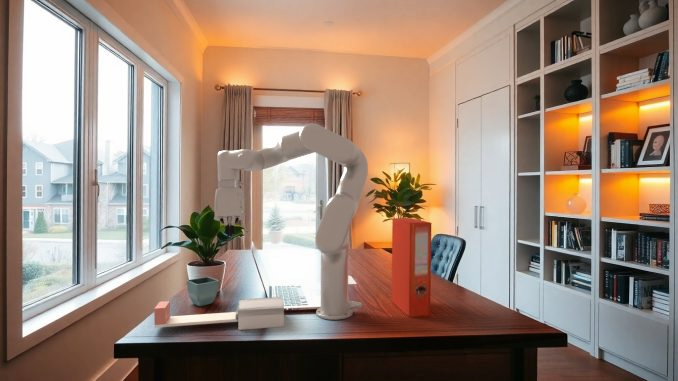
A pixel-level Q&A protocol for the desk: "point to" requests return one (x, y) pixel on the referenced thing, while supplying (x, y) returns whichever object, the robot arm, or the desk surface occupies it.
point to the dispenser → (260, 313)
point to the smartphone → (351, 280)
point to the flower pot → (202, 290)
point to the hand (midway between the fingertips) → (229, 236)
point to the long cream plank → (187, 317)
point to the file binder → (411, 266)
